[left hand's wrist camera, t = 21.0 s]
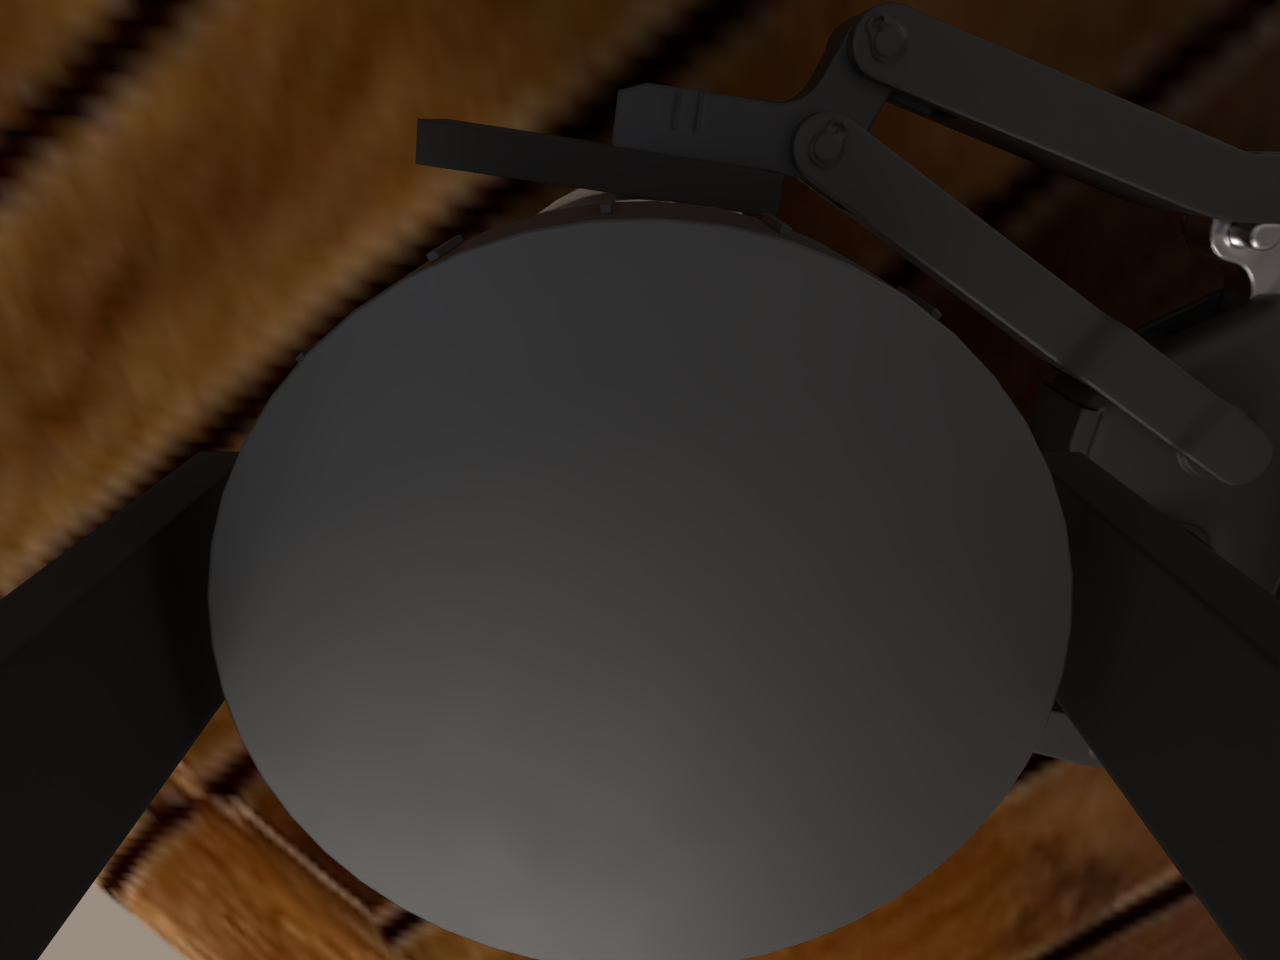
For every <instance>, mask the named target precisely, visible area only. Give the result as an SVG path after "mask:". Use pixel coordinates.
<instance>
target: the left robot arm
mask: <svg viewBox="0 0 1280 960" xmlns="http://www.w3.org/2000/svg"><path fill="white" fill-rule="evenodd" d="M1041 453H1042V455H1043V457H1044V459H1045V461H1046V463H1047V465H1048V468H1049V470H1050V472H1051V474H1052V478H1053V481H1054V485H1055V488H1056V491H1057V495H1058V498H1059V501H1060V505H1061V508H1062V511H1063V515H1064V518H1065V521H1066V526H1067V534H1068V541H1069V549H1070V556H1071V563H1072V571H1073V601H1072V628H1071V634H1070V640H1069V646H1068V652H1067V657H1066V663H1065V669H1064V674H1063V677H1062V680H1061V683H1060V687H1059V690H1058V693H1057V696H1056V699H1055V700H1056V701H1057V703H1058V704H1059V706H1060V707H1061V708H1062V710H1063V711H1064V713H1065V714H1066V715H1067V717H1068V718H1069V719H1070V721H1071V722H1072V724H1073V725H1074V726H1075V728H1076V729H1077V731H1078V732H1079V733H1080V735H1081V736H1082V738H1083V739H1084V740H1085V742H1086V743H1087V744H1088V746H1089V747H1090V749H1091V750H1092V751H1093V753H1094V754H1095V756H1096V757H1097V758H1098V760H1099V761H1100V763H1101V764H1102V765H1103V767H1104V768H1105V769H1106V771H1107V772H1108V774H1109V775H1110V776H1111V778H1112V779H1113V781H1114V782H1115V783H1116V785H1117V786H1118V787H1119V789H1120V790H1121V792H1122V793H1123V794H1124V796H1125V797H1126V799H1127V800H1128V801H1129V803H1130V804H1131V806H1132V807H1133V808H1134V810H1135V811H1136V812H1137V814H1138V815H1139V817H1140V818H1141V819H1142V821H1143V822H1144V824H1145V825H1146V826H1147V828H1148V829H1149V831H1150V832H1151V833H1152V835H1153V836H1154V837H1155V839H1156V840H1157V842H1158V843H1159V844H1160V846H1161V847H1162V849H1163V850H1164V851H1165V853H1166V854H1167V856H1168V857H1169V858H1170V860H1171V861H1172V862H1173V864H1174V865H1175V867H1176V868H1177V869H1178V871H1179V872H1180V874H1181V875H1182V876H1183V878H1184V879H1185V881H1186V882H1187V883H1188V885H1189V886H1190V887H1191V889H1192V890H1193V892H1194V893H1195V894H1196V896H1197V897H1198V899H1199V900H1200V901H1201V903H1202V904H1203V905H1204V907H1205V908H1206V910H1207V911H1208V912H1209V914H1210V915H1211V917H1212V918H1213V919H1214V921H1215V922H1216V924H1217V925H1218V926H1219V928H1220V929H1221V930H1222V932H1223V933H1224V935H1225V936H1226V937H1227V939H1228V940H1229V942H1230V943H1231V944H1232V946H1233V947H1234V949H1235V950H1236V951H1237V953H1238V954H1239V955H1240V957H1241V958H1242V960H1280V600H1278V599H1277V598H1276V597H1274V596H1273V595H1272V594H1270V593H1269V592H1268V591H1266V590H1265V589H1264V588H1262V587H1261V586H1260V585H1258V584H1257V583H1256V582H1254V581H1253V580H1252V579H1250V578H1249V577H1248V576H1246V575H1245V574H1244V573H1242V572H1241V571H1240V570H1238V569H1237V568H1236V567H1234V566H1233V565H1232V564H1230V563H1229V562H1228V561H1226V560H1225V559H1224V558H1222V557H1221V556H1219V555H1218V554H1217V553H1215V552H1214V551H1213V550H1211V549H1210V548H1209V547H1207V546H1206V545H1205V544H1203V543H1202V542H1201V541H1199V540H1198V539H1197V538H1195V537H1194V536H1193V535H1191V534H1190V533H1189V532H1187V531H1186V530H1185V529H1183V528H1182V527H1181V526H1179V525H1178V524H1177V523H1175V522H1174V521H1173V520H1171V519H1170V518H1169V517H1167V516H1166V515H1165V514H1163V513H1162V512H1161V511H1159V510H1158V509H1156V508H1155V507H1154V506H1152V505H1151V504H1150V503H1148V502H1147V501H1146V500H1144V499H1143V498H1142V497H1140V496H1139V495H1138V494H1136V493H1135V492H1134V491H1132V490H1131V489H1130V488H1128V487H1127V486H1126V485H1124V484H1123V483H1122V482H1120V481H1119V480H1118V479H1116V478H1115V477H1114V476H1112V475H1111V474H1110V473H1108V472H1107V471H1106V470H1104V469H1103V468H1102V467H1100V466H1099V465H1098V464H1096V463H1095V462H1093V461H1092V460H1091V459H1089V458H1088V457H1087V456H1085V455H1084V454H1083V453H1081V452H1041ZM238 454H239V452H199V453H197V454H196V455H195V456H193V457H192V458H191V459H189V460H188V461H187V462H185V463H184V464H183V465H181V466H180V467H178V468H177V469H176V470H174V471H173V472H172V473H170V474H169V475H168V476H166V477H165V478H164V479H162V480H161V481H160V482H158V483H157V484H156V485H154V486H153V487H152V488H150V489H149V490H148V491H146V492H145V493H144V494H142V495H141V496H140V497H138V498H137V499H136V500H134V501H133V502H132V503H130V504H129V505H128V506H126V507H125V508H124V509H122V510H121V511H120V512H118V513H117V514H115V515H114V516H113V517H111V518H110V519H109V520H107V521H106V522H105V523H103V524H102V525H101V526H99V527H98V528H97V529H95V530H94V531H93V532H91V533H90V534H89V535H87V536H86V537H85V538H83V539H82V540H81V541H79V542H78V543H77V544H75V545H74V546H73V547H71V548H70V549H69V550H67V551H66V552H65V553H63V554H62V555H61V556H59V557H58V558H56V559H55V560H54V561H52V562H51V563H50V564H48V565H47V566H46V567H44V568H43V569H42V570H40V571H39V572H38V573H36V574H35V575H34V576H32V577H31V578H30V579H28V580H27V581H26V582H24V583H23V584H22V585H20V586H19V587H18V588H16V589H15V590H14V591H12V592H11V593H10V594H8V595H7V596H6V597H4V598H3V599H2V600H0V960H38V958H39V957H40V955H41V954H42V953H43V951H44V950H45V949H46V947H47V946H48V944H49V943H50V942H51V940H52V939H53V937H54V936H55V935H56V933H57V932H58V930H59V929H60V928H61V926H62V925H63V924H64V922H65V921H66V919H67V918H68V917H69V915H70V914H71V912H72V911H73V910H74V908H75V907H76V906H77V904H78V903H79V901H80V900H81V899H82V897H83V896H84V894H85V893H86V892H87V890H88V889H89V887H90V886H91V885H92V883H93V882H94V881H95V879H96V878H97V876H98V875H99V874H100V872H101V871H102V869H103V868H104V867H105V865H106V864H107V862H108V861H109V860H110V858H111V857H112V856H113V854H114V853H115V851H116V850H117V849H118V847H119V846H120V844H121V843H122V842H123V840H124V839H125V837H126V836H127V835H128V833H129V832H130V831H131V829H132V828H133V826H134V825H135V824H136V822H137V821H138V819H139V818H140V817H141V815H142V814H143V812H144V811H145V810H146V808H147V807H148V806H149V804H150V803H151V801H152V800H153V799H154V797H155V796H156V794H157V793H158V792H159V790H160V789H161V788H162V786H163V785H164V783H165V782H166V781H167V779H168V778H169V776H170V775H171V774H172V772H173V771H174V769H175V768H176V767H177V765H178V764H179V763H180V761H181V760H182V758H183V757H184V756H185V754H186V753H187V751H188V750H189V749H190V747H191V746H192V744H193V743H194V742H195V740H196V739H197V738H198V736H199V735H200V733H201V732H202V731H203V729H204V728H205V726H206V725H207V724H208V722H209V721H210V719H211V718H212V717H213V715H214V714H215V713H216V711H217V710H218V708H219V707H220V706H221V704H222V703H223V701H224V700H225V698H224V695H223V693H222V688H221V684H220V680H219V676H218V671H217V667H216V663H215V659H214V655H213V650H212V646H211V634H210V622H209V610H208V599H207V595H208V580H209V565H210V551H211V542H212V538H213V534H214V529H215V525H216V520H217V516H218V512H219V507H220V503H221V498H222V494H223V492H224V489H225V487H226V484H227V482H228V479H229V477H230V474H231V472H232V469H233V467H234V464H235V462H236V459H237V457H238Z"/></svg>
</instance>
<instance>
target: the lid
mask: <svg viewBox="0 0 1280 960" xmlns="http://www.w3.org/2000/svg"><path fill="white" fill-rule="evenodd" d="M426 256H427V258H428V259H429V261H428V262H427V263H425V264H423V265H422V266H420V267H419V268H417V269H416V270H414V271H413V272H411V273H410V274H408V275H407V276H405V277H404V278H402V279H401V280H399V281H398V282H396V283H395V284H393V285H391V286H390V287H388V288H387V289H385V290H384V291H382V292H381V293H379V294H378V295H376V296H375V297H373V298H372V299H370V300H369V301H367V302H366V303H364V304H363V305H361V306H360V307H358V308H357V309H355V310H354V311H352V312H351V313H350V314H349V315H348V316H347V317H346V318H345V319H343V320H342V321H341V322H340V323H339V324H338V325H337V326H336V327H335V328H333V329H332V330H331V331H330V332H329V333H328V334H327V335H326V336H325V337H323V338H322V339H321V340H319V341H318V342H316V343H315V344H313V345H312V346H310V347H309V348H307V349H306V350H305V351H303V352H302V353H300V355H299V356H298V357H297V358H296V361H297V362H299V363H298V364H297V365H296V366H295V368H294V369H293V370H292V371H291V373H290V374H289V375H288V376H287V377H286V379H285V380H284V381H283V382H282V383H281V385H280V386H279V387H278V388H277V390H276V391H275V392H274V393H273V394H272V396H271V397H270V399H269V400H268V402H267V404H266V405H265V407H264V409H263V410H262V412H261V414H260V416H259V417H258V419H257V421H256V422H255V424H254V426H253V427H252V429H251V431H250V432H249V434H248V436H247V437H246V439H245V441H244V442H243V444H242V447H241V449H240V452H239V454H238V457H237V459H236V462H235V464H234V467H233V469H232V472H231V474H230V477H229V479H228V482H227V484H226V487H225V489H224V492H223V494H222V498H221V503H220V507H219V512H218V516H217V520H216V525H215V529H214V534H213V538H212V542H211V551H210V565H209V580H208V595H207V599H208V610H209V622H210V634H211V646H212V650H213V655H214V659H215V663H216V667H217V671H218V676H219V680H220V684H221V688H222V693H223V695H224V698H225V700H226V703H227V706H228V708H229V711H230V713H231V716H232V718H233V721H234V723H235V726H236V728H237V731H238V733H239V736H240V738H241V740H242V742H243V744H244V746H245V747H246V749H247V751H248V753H249V754H250V756H251V758H252V760H253V762H254V763H255V765H256V767H257V769H258V770H259V772H260V774H261V776H262V778H263V779H264V781H265V782H266V783H267V785H268V786H269V787H270V789H271V790H272V791H273V793H274V794H275V795H276V797H277V798H278V799H279V801H280V802H281V803H282V805H283V806H284V808H285V809H286V810H287V812H288V813H289V814H290V816H291V817H292V818H293V819H294V820H295V821H296V822H297V823H298V824H299V825H300V826H301V827H302V828H303V830H304V831H305V832H306V833H307V834H308V835H309V836H310V837H311V838H312V839H313V840H314V841H315V842H316V843H317V844H318V845H319V846H320V847H321V848H322V849H323V850H324V851H325V852H326V853H327V854H328V855H329V856H331V857H332V858H333V859H334V860H335V861H337V862H338V863H339V864H340V865H342V866H343V867H344V868H345V869H346V870H348V871H349V872H350V873H351V874H352V875H354V876H355V877H356V878H357V879H359V880H360V881H361V882H362V883H364V884H366V885H367V886H369V887H370V888H372V889H373V890H375V891H376V892H378V893H379V894H381V895H382V896H384V897H385V898H387V899H389V900H390V901H392V902H393V903H395V904H396V905H398V906H399V907H401V908H403V909H405V910H407V911H409V912H411V913H413V914H415V915H417V916H419V917H420V918H422V919H424V920H426V921H428V922H430V923H432V924H434V925H436V926H438V927H440V928H442V929H444V930H447V931H450V932H452V933H455V934H457V935H460V936H463V937H465V938H468V939H470V940H473V941H476V942H478V943H481V944H483V945H486V946H489V947H493V948H496V949H500V950H504V951H507V952H511V953H515V954H518V955H522V956H525V957H529V958H533V959H539V960H741V959H745V958H750V957H755V956H759V955H764V954H768V953H771V952H774V951H778V950H781V949H784V948H787V947H790V946H793V945H796V944H799V943H803V942H806V941H809V940H812V939H814V938H817V937H819V936H821V935H824V934H826V933H828V932H830V931H833V930H835V929H837V928H840V927H842V926H844V925H846V924H849V923H851V922H853V921H856V920H858V919H859V918H861V917H863V916H865V915H866V914H868V913H870V912H872V911H873V910H875V909H877V908H879V907H880V906H882V905H884V904H886V903H888V902H889V901H891V900H893V899H895V898H896V897H898V896H899V895H901V894H902V893H903V892H905V891H906V890H908V889H909V888H910V887H912V886H913V885H915V884H916V883H917V882H919V881H920V880H922V879H923V878H924V877H926V876H927V875H928V874H930V873H931V872H933V871H934V870H935V869H937V868H938V867H939V866H940V865H941V864H942V863H943V862H944V861H945V860H946V859H948V858H949V857H950V856H951V855H952V854H953V853H954V852H955V851H956V850H957V849H959V848H960V847H961V846H962V845H963V844H964V843H965V842H966V841H967V840H968V839H970V838H971V836H972V835H973V834H974V833H975V832H976V831H977V830H978V828H979V827H980V826H981V825H982V824H983V823H984V821H985V820H986V819H987V818H988V817H989V816H990V814H991V813H992V812H993V811H994V810H995V809H996V808H997V806H998V805H999V804H1000V803H1001V802H1002V800H1003V799H1004V797H1005V796H1006V794H1007V793H1008V791H1009V790H1010V788H1011V787H1012V785H1013V784H1014V782H1015V781H1016V779H1017V778H1018V776H1019V775H1020V773H1021V772H1022V770H1023V769H1024V767H1025V766H1026V764H1027V763H1028V761H1029V759H1030V757H1031V755H1032V753H1033V751H1034V749H1035V747H1036V744H1037V742H1038V740H1039V738H1040V736H1041V734H1042V732H1043V730H1044V728H1045V726H1046V724H1047V722H1048V720H1049V717H1050V714H1051V711H1052V708H1053V705H1054V702H1055V699H1056V696H1057V693H1058V690H1059V687H1060V683H1061V680H1062V677H1063V674H1064V669H1065V663H1066V657H1067V652H1068V646H1069V640H1070V634H1071V628H1072V601H1073V571H1072V563H1071V556H1070V549H1069V541H1068V534H1067V526H1066V521H1065V518H1064V515H1063V511H1062V508H1061V505H1060V501H1059V498H1058V495H1057V491H1056V488H1055V485H1054V481H1053V478H1052V474H1051V472H1050V470H1049V468H1048V465H1047V463H1046V461H1045V459H1044V457H1043V455H1042V453H1041V451H1040V449H1039V447H1038V445H1037V443H1036V440H1035V438H1034V436H1033V434H1032V432H1031V430H1030V428H1029V426H1028V424H1027V422H1026V421H1025V419H1024V418H1023V416H1022V415H1021V413H1020V412H1019V411H1018V409H1017V408H1016V406H1015V405H1014V403H1013V402H1012V400H1011V399H1010V397H1009V396H1008V395H1007V393H1006V392H1005V390H1004V389H1003V387H1002V386H1001V384H1000V383H999V381H998V380H997V378H996V377H995V376H994V375H993V374H992V373H991V372H990V371H989V369H988V368H987V367H986V366H985V365H984V364H983V363H982V362H981V361H980V360H979V359H978V358H977V357H976V356H975V355H974V353H973V352H972V351H971V350H970V349H969V348H968V347H967V346H966V345H965V344H964V343H963V342H962V341H961V340H960V339H959V337H958V336H957V335H956V334H955V333H953V332H952V331H951V330H950V329H948V328H947V327H946V326H945V325H943V324H942V323H941V322H940V321H938V319H939V318H940V317H941V316H942V314H941V313H940V312H939V311H938V310H937V309H936V308H934V307H932V306H931V305H929V304H928V303H926V302H924V301H923V300H921V299H920V298H918V297H916V296H915V295H913V294H912V293H910V292H908V291H907V290H905V289H904V288H902V287H901V286H899V287H898V288H897V289H896V288H894V287H893V286H891V285H890V284H888V283H886V282H885V281H883V280H882V279H880V278H879V277H877V276H876V275H874V274H873V273H871V272H869V271H868V270H866V269H865V268H863V267H862V266H860V265H858V264H856V263H855V262H853V261H851V260H849V259H848V258H846V257H844V256H843V255H841V254H839V253H837V252H836V251H834V250H832V249H830V248H829V247H827V246H825V245H824V244H822V243H820V242H818V241H816V240H814V239H812V238H809V237H807V236H804V235H802V234H799V233H797V232H794V231H792V228H791V227H790V226H788V225H787V224H786V223H784V222H783V221H781V220H780V219H778V218H777V217H775V216H774V215H772V214H769V213H766V212H765V213H764V215H763V218H762V219H759V218H755V217H751V216H747V215H743V214H739V213H735V212H731V211H727V210H723V209H719V208H715V207H710V206H701V205H692V204H682V203H673V202H664V201H629V202H615V195H614V194H607V195H605V196H604V198H603V200H602V202H599V203H593V204H587V205H582V206H576V207H570V208H564V209H558V210H552V211H546V212H542V213H539V214H536V215H533V216H530V217H526V218H523V219H520V220H517V221H514V222H510V223H507V224H504V225H501V226H498V227H494V228H492V229H490V230H488V231H485V232H483V233H481V234H479V235H477V236H475V237H473V238H471V239H469V240H466V241H464V240H463V238H462V237H461V235H458V236H456V237H454V238H452V239H450V240H449V241H447V242H445V243H444V244H442V245H441V246H439V247H437V248H436V249H434V250H432V251H431V252H429V253H428V254H426Z"/></svg>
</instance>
